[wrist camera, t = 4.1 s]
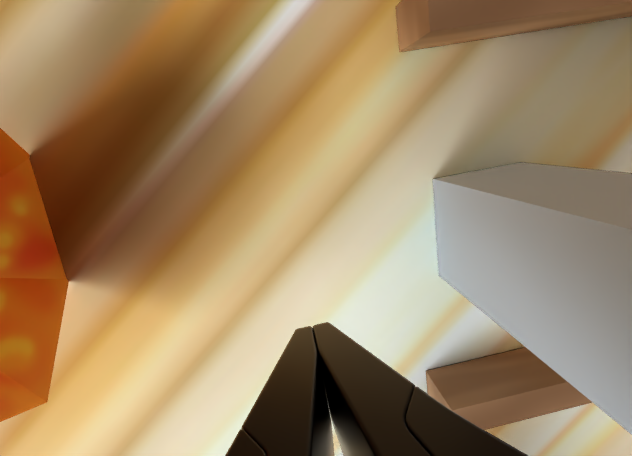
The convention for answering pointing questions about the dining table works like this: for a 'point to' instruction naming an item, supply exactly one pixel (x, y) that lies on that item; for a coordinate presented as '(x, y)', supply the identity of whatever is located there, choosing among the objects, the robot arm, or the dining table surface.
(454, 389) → the rail pen
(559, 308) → the long block
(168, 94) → the dining table surface
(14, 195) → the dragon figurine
